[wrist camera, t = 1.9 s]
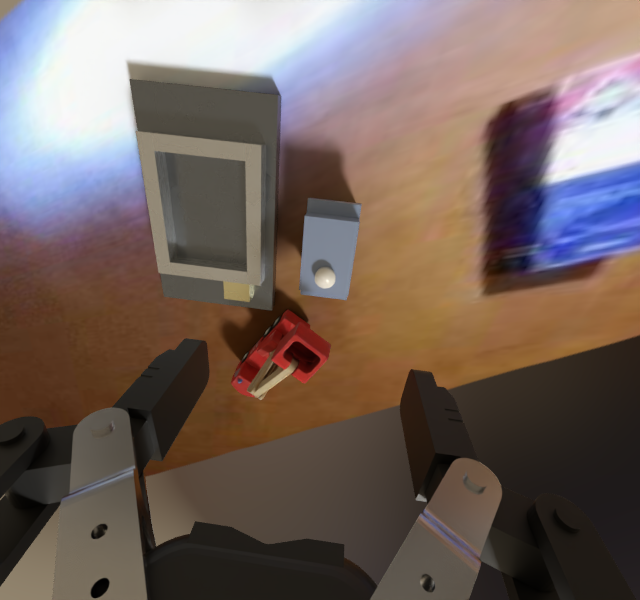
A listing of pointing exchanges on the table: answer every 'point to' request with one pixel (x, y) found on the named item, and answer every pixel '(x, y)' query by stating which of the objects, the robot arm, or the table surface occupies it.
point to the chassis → (211, 189)
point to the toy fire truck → (281, 356)
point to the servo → (328, 247)
